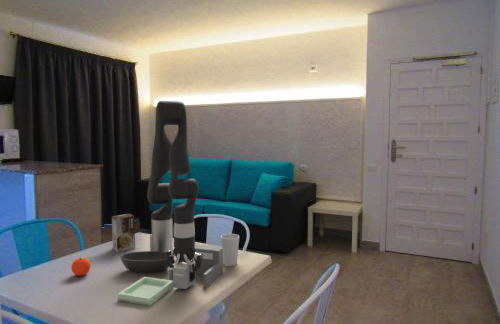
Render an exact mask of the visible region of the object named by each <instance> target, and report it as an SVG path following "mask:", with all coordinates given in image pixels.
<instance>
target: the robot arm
mask: <svg viewBox="0 0 500 324" xmlns="http://www.w3.org/2000/svg"><path fill="white" fill-rule="evenodd" d="M187 118H188V116H187V109H186V105H185V103H184V102H183V101H178V100H159V101H158V102H157V104H156V107H155V121H154V122H155V123H154V124H155V128H154V129H155V130H154V140H153V148H152V154H151V168H150V176H149V180H148V181H149V183H148V186H147V201H148V203H149V204H151V205H161V204H162V206H161V207H159V209H156V210H154V211H152V212H151V215H150V216H151V220H150V221H151V235H149V251H160V252H166V255H167V259H168V264H169V269H170V268H174V266H175V265H178V264H179V263H181V262H185V263H187V266H189V270H190V272H189V279H190V282H192V281H193V280H194V279H195V271H197V270H198V269H200V266H201V262H202V257H203V254H202V253H200V254H199V253H196V251H195V245H196V236H195V235H196V232H195V231H196V229H195V206H196V203H197V200H198V195H199V189H200V187H199V186H200V185H199V182H198V181H197V180H196V179H194V178H181V179H179V177H182V176H185V175H187V174H189V173H190V172H191V163H190V157H189V152H188V151H189V150H188V122H187V120H188V119H187ZM165 126H177V129H178V130H177V134H176V136H175V138H174V140H173V141H171V139H170V138H169V136H168V135H167V133H166V130H165ZM169 172H170V177H169V178H170V179H169V182H162V183H160V182H161V180H162V179H163V178H164V177H165V176H166V175H167V174H168V173H169ZM183 199H185V200H186V201H185V202H184V203H182V204H179V205H176V206H175V207H174V208H173V200H183ZM173 221H174V222H173ZM174 255H175V256H174ZM194 256H195V259H196V263H195V264H194V259H193V257H194ZM175 257H176V258H175Z"/></svg>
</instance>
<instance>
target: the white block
mask: <svg viewBox="0 0 500 324" xmlns="http://www.w3.org/2000/svg"><path fill="white" fill-rule="evenodd" d="M195 263H196V262H195V261H194V264H195ZM189 272H190V270H189V266H187V263H185V262H181V263H179V264H178V265H175V266H174V268H173V288H175V289H182V290H187V289H188V288H189V287H191V285H192V284H193V283H195V282H197V277H196V276H197V273H196V271H195V279H194V280H193V281H192V282H190V279H189Z"/></svg>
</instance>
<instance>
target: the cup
mask: <svg viewBox="0 0 500 324" xmlns="http://www.w3.org/2000/svg"><path fill="white" fill-rule="evenodd" d="M239 243H240V235H239V234H236V233H226V234H221V235H220V244H221V248H223V266H224V267H235V266H237V265H238V258H239V257H238V255H239Z"/></svg>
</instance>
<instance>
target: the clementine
mask: <svg viewBox="0 0 500 324" xmlns="http://www.w3.org/2000/svg"><path fill="white" fill-rule="evenodd" d="M91 261H92V260H91V257H88V256H81V257H77V258H76V259H74V260H73V262H72V263H71V268H70V269H71V272H72V273H73V274H74V275H75V276H77V277H78V276H79V277H80V276H85V275H86V274H88V273H89V271H91V270H90V269H91Z"/></svg>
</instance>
